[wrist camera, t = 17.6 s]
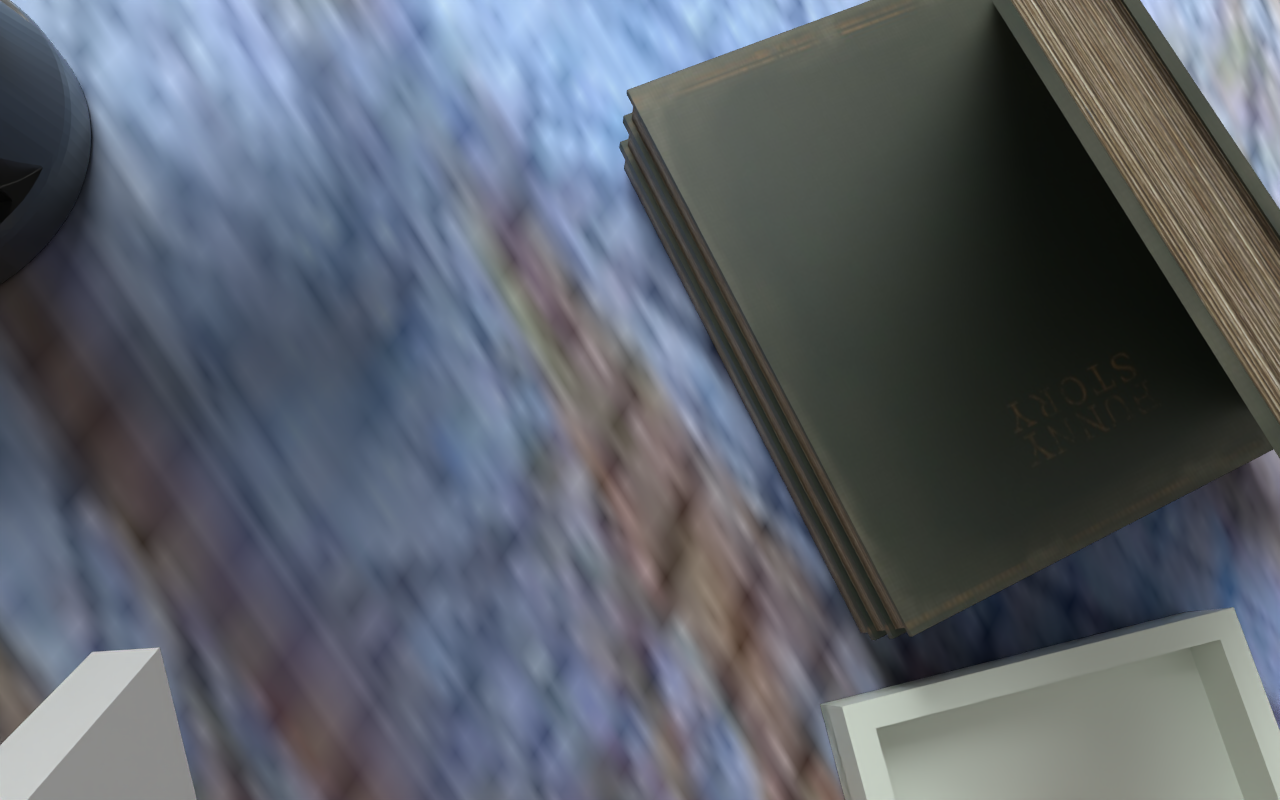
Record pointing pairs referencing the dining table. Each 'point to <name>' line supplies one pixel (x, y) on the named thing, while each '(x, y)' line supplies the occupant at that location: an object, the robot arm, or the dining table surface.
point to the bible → (969, 281)
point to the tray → (1073, 723)
